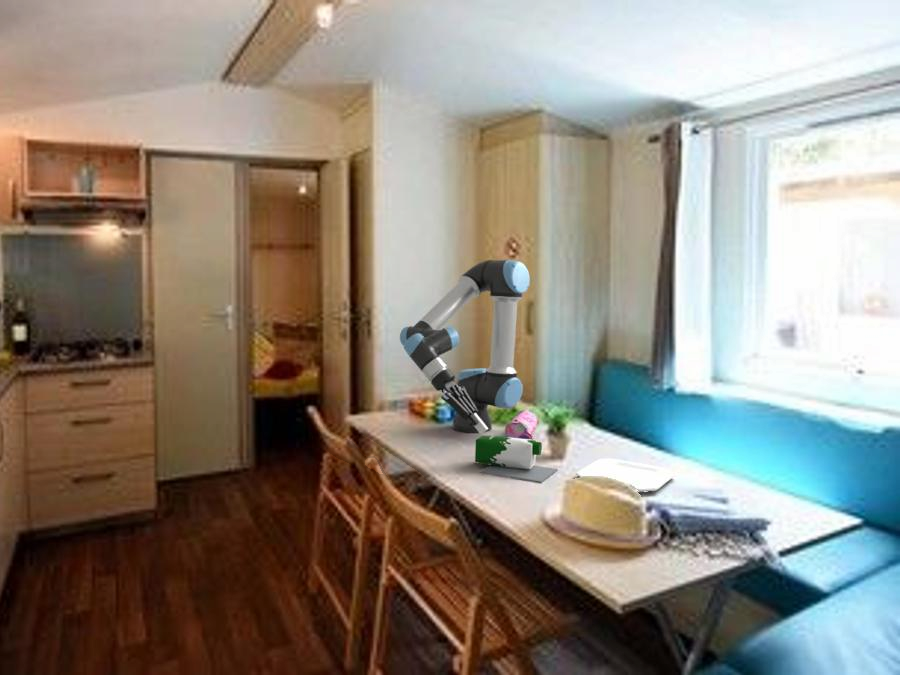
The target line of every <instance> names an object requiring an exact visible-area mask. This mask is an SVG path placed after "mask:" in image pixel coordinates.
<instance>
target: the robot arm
mask: <svg viewBox="0 0 900 675" xmlns="http://www.w3.org/2000/svg"><path fill="white" fill-rule="evenodd" d="M530 281H531V278H530V272H529V270H528V268H527V267H526V265H525V264H524V263H523V262H521V261H519V260H513V259H512V260H510V259H509V260H506V259H505V260H503V259H502V260H501V259H500V260H498V259H497V260H496V259H494V260H493V259H487V260H483V261H481V262H479V263H477V264H475V265H473V266H472V267H470V268H469V269H468V270H466V271H465V272H464V273H463V274H462V275H461V276H460V277H459V278H458V280H457V284H455V285H454V286H453V288H451V289H450V290H449V291H448V292H447V293H446V294H445V295H444V296H443V297H442V298H441V299H440V300H439V301H438V302H437V303H436V304H435V305H434V306H433V307H432V308H431V309H430V310H429V311H428V312H427V313H426V314H425V315H424V316H422V317H421V319H420V320H418V322H416V323H415V324H414V325H413V326H411V325H410V326H405V327H403V328H402V329H401V331H400V332H399V333H400V334H399V342H400V344H401V345H402V346H403V349H404V351H405V352H406V354H407V355H408V357H409V358H410V359H411V360H412V361H413V363H414V364H415V365H416V366H417V368H419V370H420V371H421V372H422V373H423V375H424V378H426V379H427V380H428V381H429V382H430V384H431V385H432V387H433V388H434V389H435V390H436V391H438V392H441V393H442V395H441V396H440V397H441V399H442V400H443V401H445V402H446V404H448V405H449V406H450V407H451V408H452V409H453V410H454V411H455V415H454V417H453V421H452V429H453V430H455V431H457V432H462V433H479V434H480V436H483V434H485V432H489V431H491V430H492V426H493V424H492V420H491V415H490V413H489V409H488V407H489V406H491V407H496V408H499V409H505V410H506V409H508V410H509V409H512V408H514V407H515V406H516V405H517V404H518V402H520V400H521V398H522V395H523V391H524V390H523V389H524V386H523V383H522V381H521V380H520V379H519V378H518V372H517V370H516V368H514V361H515V360H514V359H515V346H516V330H517V329H516V328H517V315H518V313H517V312H518V302H519V301H520V300H522V298H523V293H526V292H527V291H528V288H529V287H530V284H531V283H530ZM486 292H490V293H489V295H490V296H489V297H490V298H491V299H492V301H493V313H492V328H491V329H492V330H491V331H492V332H491V342H490V343H491V345H490V346H491V347H490V360H489V362H490V364H489V367H487V368H486V367H484V368H483V367H482V368H480V367H479V368H468V369H461V370H459V372H458V375H457V382H455V378H456V376H455V374H454V373H453V371H451V369H450V368H448V364H446V363H445V362H444V360H442V358H441V357H440V356H441V355H443V354H445V353H447V352H449V351H452V350H454V349H455V348H456V347H457V346H459V344H460V335H459V333H458V331H457V330H456V329H455V328H454V327H452V326H446V325H447V323H448V322H449V321H450V320H451V319H452V318H453V317H455V315H457V313H459V312H460V311H461V309H463V307H465V306H466V305H467V304H468V303H469V301H471V300H472V298H473V299H475V298H477V297H479V295H481V294H482V293H486ZM444 326H446V327H444Z"/></svg>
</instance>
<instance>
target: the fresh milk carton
mask: <svg viewBox="0 0 900 675" xmlns="http://www.w3.org/2000/svg"><path fill="white" fill-rule="evenodd" d="M542 443H543V442H541V441H537V439H533V440H531V439H520V438H510V437H506V436H499V435H480V437H478V438H477V439H475V449H474V450H475V452H474V453H475V454H474V462H475V463H480V464H484V465H488V466H489V465H494V466H503V467H512V468H521V469H531V468H532V467H533V466H534V465H535V466H536V459H537V458H536V457H537V456H540V455H541V454H542V448H543V444H542Z"/></svg>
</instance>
